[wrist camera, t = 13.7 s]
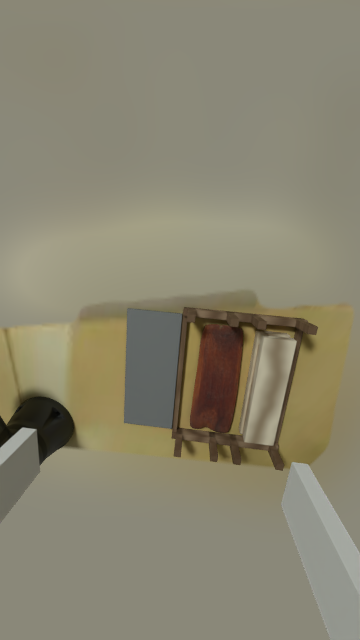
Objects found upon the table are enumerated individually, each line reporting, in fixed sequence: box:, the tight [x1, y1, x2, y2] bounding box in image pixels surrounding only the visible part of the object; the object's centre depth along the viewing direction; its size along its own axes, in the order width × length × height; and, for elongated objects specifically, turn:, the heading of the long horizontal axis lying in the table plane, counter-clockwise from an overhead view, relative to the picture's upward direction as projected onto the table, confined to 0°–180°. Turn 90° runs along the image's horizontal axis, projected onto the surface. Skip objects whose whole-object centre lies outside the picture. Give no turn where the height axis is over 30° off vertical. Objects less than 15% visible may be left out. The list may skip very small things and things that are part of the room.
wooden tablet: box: [190, 324, 243, 433], centre depth 49 cm, size 27×10×2 cm, turn 174°
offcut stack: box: [239, 330, 297, 446], centre depth 46 cm, size 6×25×5 cm, turn 175°
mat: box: [124, 308, 182, 429], centre depth 50 cm, size 12×29×1 cm, turn 175°
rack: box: [172, 307, 318, 471], centre depth 46 cm, size 25×32×7 cm
